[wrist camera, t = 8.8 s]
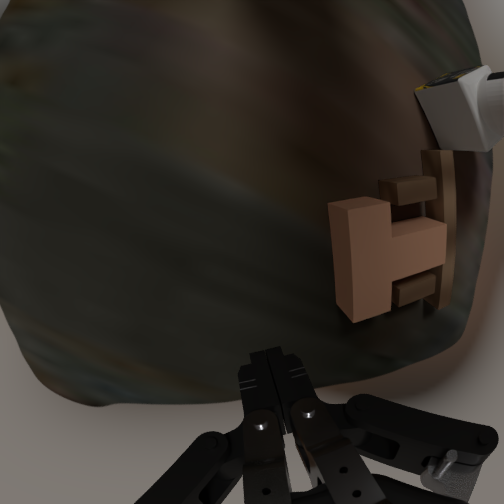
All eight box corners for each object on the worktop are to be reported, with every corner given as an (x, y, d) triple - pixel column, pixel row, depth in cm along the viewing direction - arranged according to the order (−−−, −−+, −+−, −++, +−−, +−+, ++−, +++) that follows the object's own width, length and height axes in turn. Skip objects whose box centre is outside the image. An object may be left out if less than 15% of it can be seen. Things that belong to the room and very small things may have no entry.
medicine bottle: (445, 73, 21) (523, 58, 10) (469, 128, 24) (547, 130, 12) (411, 90, 22) (501, 71, 10) (439, 151, 24) (528, 157, 13)
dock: (374, 154, 23) (393, 153, 20) (433, 149, 24) (452, 150, 21) (383, 314, 28) (397, 327, 26) (434, 294, 29) (449, 304, 26)
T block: (327, 202, 24) (347, 210, 20) (420, 187, 25) (446, 192, 21) (336, 303, 27) (353, 323, 23) (420, 276, 28) (442, 290, 24)
